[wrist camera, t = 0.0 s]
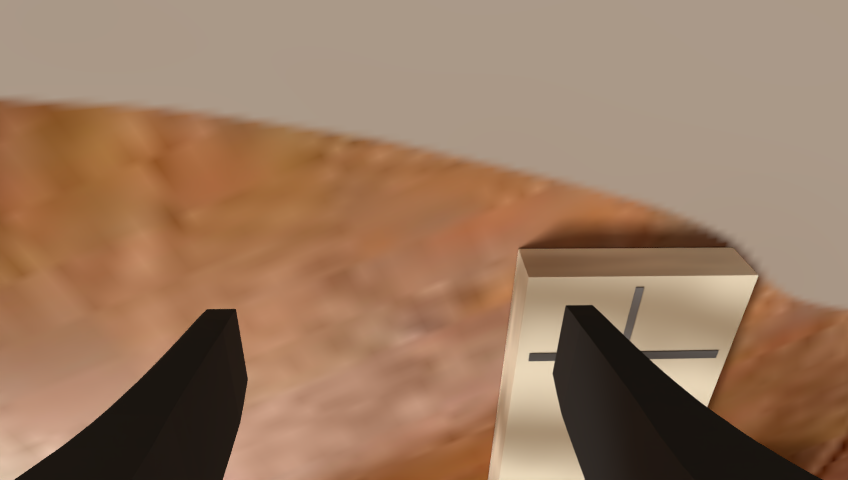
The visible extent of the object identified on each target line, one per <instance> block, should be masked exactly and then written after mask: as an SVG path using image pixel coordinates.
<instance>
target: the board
mask: <svg viewBox="0 0 848 480" xmlns="http://www.w3.org/2000/svg"><path fill="white" fill-rule="evenodd" d="M758 276H759V275H758V274H757V273H756V272H755V271H754V270H753V269H752V267H751V266H750V265H749V264H748V263H747V262H746V261H745V260H744V259H743V258H742V257H741V256H740V255H739V254H738V252H737V251H736V250H735V249H734V248H578V249H518V257H517V264H516V272H515V279H514V287H513V294H512V302H511V310H510V317H509V325H508V332H507V340H506V348H505V355H504V363H503V370H502V378H501V385H500V393H499V401H498V408H497V416H496V423H495V431H494V438H493V446H492V454H491V461H490V469H489V476H488V480H585V478H584V476H583V473H582V470H581V468H580V465H579V462H578V459H577V457H576V454H575V451H574V448H573V446H572V443H571V440H570V437H569V434H568V432H567V429H566V426H565V423H564V420H563V417H562V414H561V410H560V406H559V402H558V397H557V393H556V388H555V383H554V378H553V374H552V373H553V368H554V363H555V358H556V352H557V347H558V342H559V337H560V332H561V327H562V321H563V316H564V311H565V306H566V305H593V306H594V307H595V308H596V309H597V310H599V311H600V312H601V313H602V314H603V315H604V316H605V317H606V318H607V319H608V320H609V321H610V322H611V323H612V324H613V325H614V326H615V327H616V328H617V329H618V330H619V331H620V332H621V333H622V334H623V335H624V336H625V337H626V338H627V339H629V340H630V341H631V342H632V343H633V344H634V345H635V346H636V347H637V348H638V349H639V350H640V351H641V352H642V353H643V354H644V355H646V356H647V357H648V358H649V359H650V360H651V361H652V362H653V363H654V364H655V365H657V366H658V367H659V368H660V369H661V370H662V371H663V372H664V373H666V374H667V375H668V376H669V377H670V378H671V379H673V380H674V381H675V382H676V383H677V384H679V385H680V386H681V387H682V388H684V389H685V390H686V391H687V392H688V393H690V394H691V395H692V396H693V397H695V398H696V399H697V400H698V401H700V402H701V403H702V404H704V405H705V406H706V407H707V406H708V404H709V401H710V398H711V396H712V393H713V391H714V388H715V386H716V383H717V381H718V378H719V375H720V373H721V370H722V368H723V365H724V363H725V360H726V358H727V355H728V352H729V350H730V347H731V345H732V342H733V340H734V337H735V335H736V332H737V329H738V327H739V324H740V322H741V319H742V317H743V314H744V312H745V309H746V306H747V304H748V301H749V299H750V296H751V294H752V291H753V288H754V286H755V283H756V281H757V278H758Z"/></svg>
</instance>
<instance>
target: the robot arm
mask: <svg viewBox="0 0 848 480" xmlns="http://www.w3.org/2000/svg"><path fill="white" fill-rule="evenodd" d="M552 374H553V378H554V383H555V388H556V393H557V397H558V402H559V406H560V410H561V414H562V417H563V420H564V423H565V426H566V429H567V432H568V434H569V437H570V440H571V443H572V446H573V448H574V451H575V454H576V457H577V459H578V462H579V465H580V468H581V470H582V473H583V476H584V478H585V480H822V479H820V478H818V477H816V476H814V475H813V474H811V473H809V472H807V471H805V470H804V469H802V468H800V467H798V466H797V465H795V464H793V463H791V462H790V461H788V460H786V459H784V458H783V457H781V456H780V455H778V454H776V453H775V452H773V451H771V450H770V449H768V448H766V447H765V446H763V445H762V444H760V443H758V442H757V441H755V440H754V439H752V438H751V437H749V436H747V435H746V434H744V433H743V432H741V431H740V430H738V429H737V428H736V427H734V426H733V425H731V424H730V423H729V422H727V421H726V420H724V419H723V418H721V417H720V416H719V415H717V414H716V413H714V412H713V411H712V410H710V409H709V408H708V407H706V406H705V405H704V404H702V403H701V402H700V401H698V400H697V399H696V398H695V397H693V396H692V395H691V394H690V393H688V392H687V391H686V390H685V389H684V388H682V387H681V386H680V385H679V384H677V383H676V382H675V381H674V380H673V379H671V378H670V377H669V376H668V375H667V374H666V373H664V372H663V371H662V370H661V369H660V368H659V367H658V366H657V365H655V364H654V363H653V362H652V361H651V360H650V359H649V358H648V357H647V356H646V355H644V354H643V353H642V352H641V351H640V350H639V349H638V348H637V347H636V346H635V345H634V344H633V343H632V342H631V341H630V340H629V339H627V338H626V337H625V336H624V335H623V334H622V333H621V332H620V331H619V330H618V329H617V328H616V327H615V326H614V325H613V324H612V323H611V322H610V321H609V320H608V319H607V318H606V317H605V316H604V315H603V314H602V313H601V312H600V311H599V310H597V309H596V308H595V307H594V306H593V305H566V306H565V311H564V316H563V321H562V327H561V332H560V337H559V342H558V347H557V352H556V358H555V363H554V368H553V373H552ZM247 381H248V378H247V372H246V366H245V360H244V354H243V348H242V342H241V337H240V331H239V325H238V319H237V313H236V309H207V310H206V311H205V312H204V313H203V314H202V315H201V316H200V317H199V318H198V319H197V320H196V321H195V322H194V323H193V324H192V325H191V327H190V328H189V329H188V330H187V331H186V332H185V333H184V334H183V335H182V336H181V337H180V338H179V340H178V341H177V342H176V343H175V344H174V345H173V346H172V347H171V348H170V349H169V350H168V351H167V352H166V353H165V354H164V355H163V357H162V358H161V359H160V360H159V361H158V362H157V363H156V364H155V365H154V366H153V367H152V368H151V369H150V370H149V371H148V372H147V373H146V374H145V375H144V376H143V377H142V378H141V379H140V380H139V381H138V382H137V383H136V384H135V385H134V386H132V387H131V388H130V389H129V390H128V391H127V392H126V393H125V394H124V395H123V396H122V397H121V398H120V399H118V400H117V401H116V402H115V403H114V404H113V405H112V406H111V407H110V408H109V409H108V410H106V411H105V412H104V413H103V414H102V415H101V416H99V417H98V418H97V419H96V420H95V421H94V422H92V423H91V424H90V425H89V426H88V427H86V428H85V429H84V430H82V431H81V432H80V433H79V434H77V435H76V436H75V437H74V438H72V439H71V440H70V441H68V442H67V443H66V444H64V445H63V446H62V447H60V448H59V449H58V450H56V451H55V452H53V453H52V454H51V455H49V456H48V457H46V458H45V459H43V460H42V461H40V462H39V463H38V464H36V465H35V466H33V467H32V468H30V469H29V470H28V471H26V472H25V473H23V474H22V475H20V476H19V477H17V478H16V479H15V480H223V477H224V474H225V470H226V467H227V464H228V461H229V458H230V454H231V451H232V448H233V444H234V441H235V438H236V435H237V431H238V428H239V425H240V421H241V415H242V410H243V405H244V399H245V393H246V387H247Z"/></svg>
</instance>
